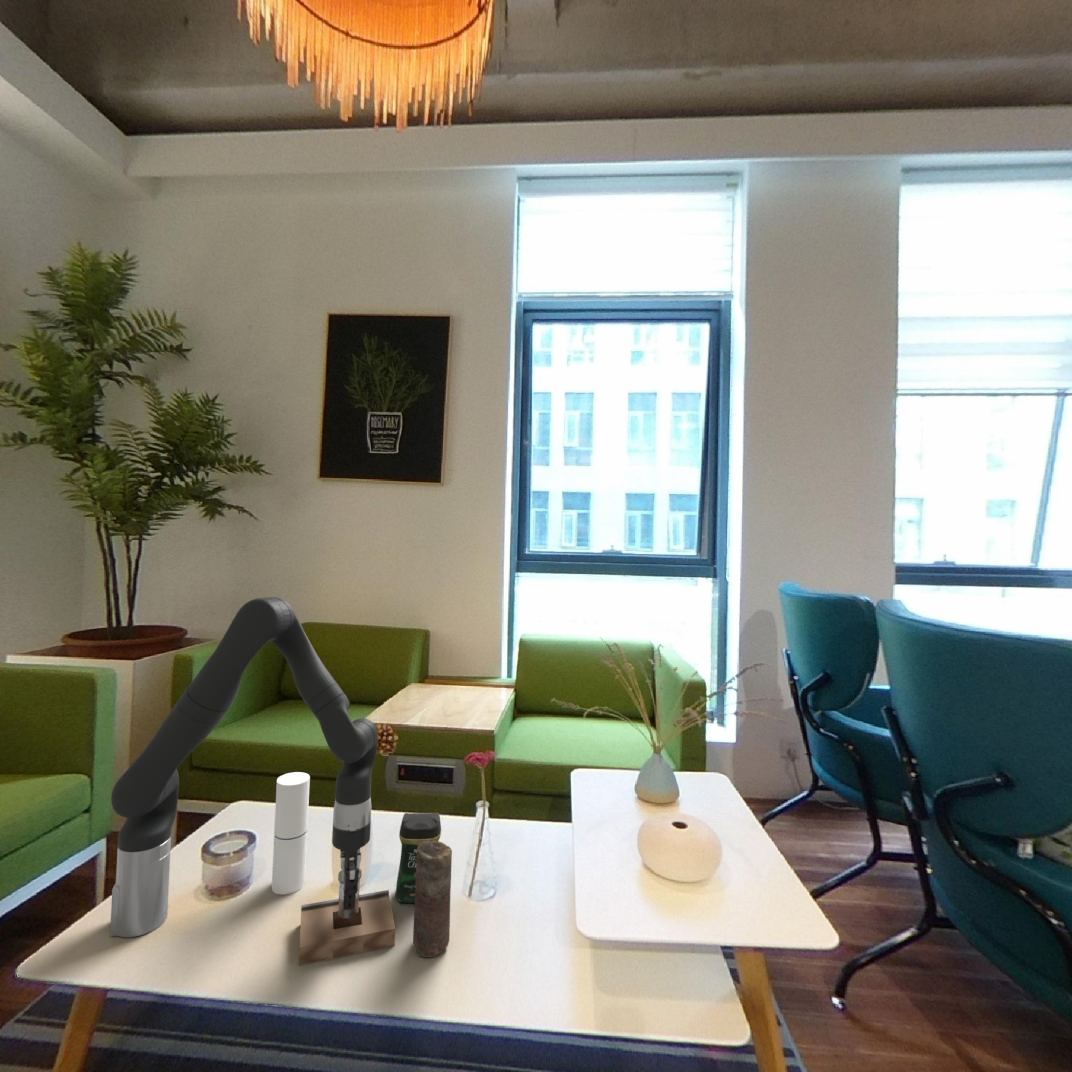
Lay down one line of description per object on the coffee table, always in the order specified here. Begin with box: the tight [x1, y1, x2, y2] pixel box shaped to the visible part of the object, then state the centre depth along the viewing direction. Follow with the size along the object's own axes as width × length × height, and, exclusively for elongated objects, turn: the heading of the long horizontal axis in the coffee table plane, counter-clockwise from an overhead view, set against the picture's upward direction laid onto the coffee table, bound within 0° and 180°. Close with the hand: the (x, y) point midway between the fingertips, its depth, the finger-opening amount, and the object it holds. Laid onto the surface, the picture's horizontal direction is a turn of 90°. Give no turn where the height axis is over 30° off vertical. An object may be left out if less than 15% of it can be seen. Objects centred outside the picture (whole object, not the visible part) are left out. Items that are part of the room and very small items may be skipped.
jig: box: [298, 889, 396, 967], centre depth 118 cm, size 18×12×4 cm, turn 111°
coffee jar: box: [395, 812, 442, 904], centre depth 132 cm, size 10×8×19 cm
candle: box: [412, 841, 453, 958], centre depth 116 cm, size 8×7×20 cm
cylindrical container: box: [271, 771, 311, 896], centre depth 133 cm, size 7×7×25 cm
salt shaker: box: [337, 867, 362, 918], centre depth 118 cm, size 5×5×8 cm
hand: (348, 901), depth 118 cm, fingers closed on salt shaker, 4 cm apart
